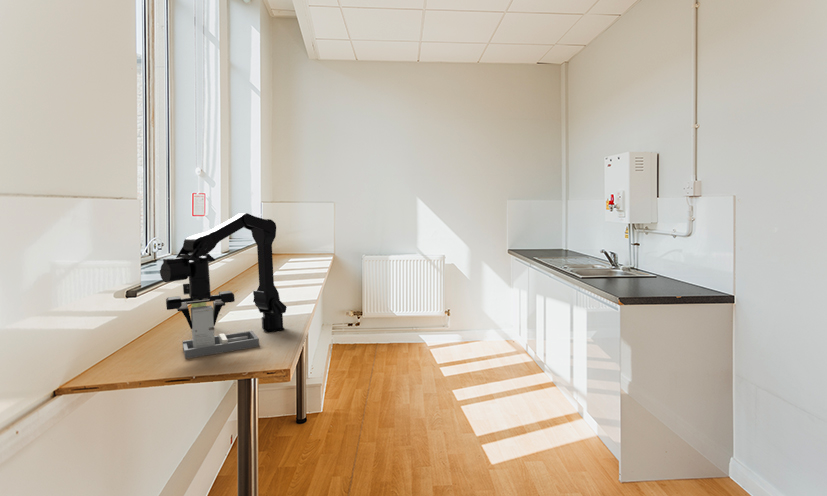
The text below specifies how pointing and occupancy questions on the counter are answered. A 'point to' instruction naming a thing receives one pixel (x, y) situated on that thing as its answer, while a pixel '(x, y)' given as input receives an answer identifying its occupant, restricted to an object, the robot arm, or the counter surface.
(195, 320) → the skincare box
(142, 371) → the counter surface
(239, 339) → the pusher
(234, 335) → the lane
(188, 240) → the robot arm
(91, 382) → the counter surface
